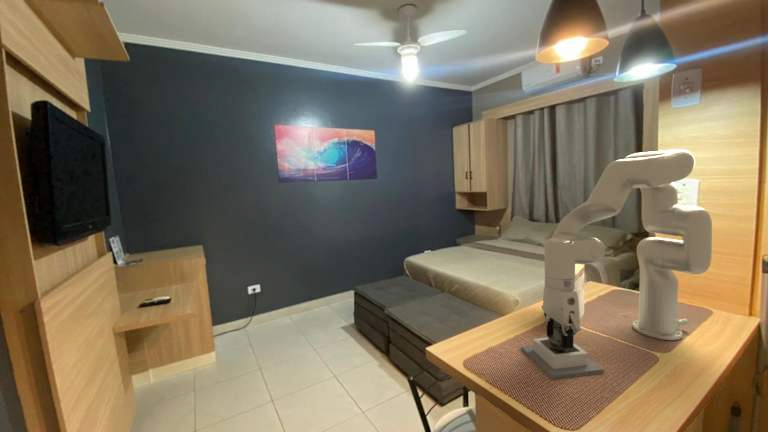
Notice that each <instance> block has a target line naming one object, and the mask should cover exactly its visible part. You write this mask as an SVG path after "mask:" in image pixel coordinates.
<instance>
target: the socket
mask: <svg viewBox="0 0 768 432" xmlns="http://www.w3.org/2000/svg"><path fill="white" fill-rule="evenodd" d="M550 347H552V346H551V344H550V342H549V340H548V336H546V337H542V338H541V337H540V338H539V337H538V338H533V339H532V345H525V346H524V345H523V346H520V350H521V351H522V352H523V354H525V355H526V356H527V357H528V358H529V360H531V361H532V362H533V364H535V365H536V366H537V367H538V368H539V369H540V371H542V372H543V373H544V374H545V375H546V376H547V377H548V378H549V379H550V380H557V379H563V378H571V377H572V378H573V377H581V376H589V375H595V374H603V373H604V368H602V366H601V367H600V366H599V365H598V364H597V363H595V362H594V361H592V360H591V359H590V358H589V353H588V352H587V351H586V350H584V349H583V348H582V347H581V346H579V345H577V344H575V343H574V342H573V348H568V350H569V352H570V353H562V354H554V353H553V352H552V351H551V350H549V348H550Z"/></svg>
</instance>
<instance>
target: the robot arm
mask: <svg viewBox="0 0 768 432" xmlns="http://www.w3.org/2000/svg"><path fill="white" fill-rule="evenodd" d="M695 165H696V159H695V156H694V155H693V154H692V153H691V151H689V150H687V149H682V148H681V149H679V148H677V149H668V150H667V149H666V150H665V149H664V150H657V151H646V152H645V151H643V152H635V153H632V154H629V155H627V156H625V157H624V158H623V159H617V160H613V161H612V162H610V163H609V164H608V165H607V166H606V167H605V168H604V170H603V172H602V174H601V176H600V177H599V179H598V181H597V182H596V185H595V186H594V188H593V190H592V192H591V194H590V196H589V198H588V199H587V200H586V201H585V202H583V203H581V204H580V205H578V206H577V207H576V208H574V209H573V210H571V211H570V212H569V213H567V214H566V215H564V217H562V219H561V220H560V221H559V223H558V225H556V228H555V230H554V232H553V233H552V234H551V235H552V236H551V238H548V239H546V240H545V242H544V246H543V247H544V287H543V296H542V297H543V298H542V305H541V309H542V312H543V316H544V317H545V320H544V321H545V323H546V337H549V336H550V335H553V327H552V326H553V325H554V320H555V321H557V322H558V323H560V324H561V326H562V331H563V334H562V336H561V346H562V348H563V349H567V348H573V343H574V341H575V340H574V336H576V334H577V333H578V332H580V331H581V330H582V328H581V326H580V322H581V321H580V320H581V319H580V312H579V301H578V295H577V291H576V290H575V264H594V263H597V262H599V261H600V260H602V259H603V257H604V256H605V254H606V246H605V244H604V243H603V242H602V241H601V240H600V239H598V238H596V237H592V236H589V235H584V234H583V235H582V234H578V232H579V231H580V230H581V229H583V228H584V227H585V226H587V225H590V224H591V223H594V222H598V221H603V220H605V219H609V218H611V217H614V216H616V215H618V214H619V213H620V212H621V210H622V208H623V206H624V205H625V202H626V201H627V199H628V197H629V195H630V194H631V193H632V190H633V189H640V192H641V212H642V213H641V217H642V218H641V221H642V227H643V229H644V230H645V231H646V232H647V233H650V234H655V235H662V236H663V235H664V236H670V237H677V238H678V237H679V238H681V239H682V240H680V239H674V238H673V239H672V238H667V237H666V238H665V237H658V236H656V237H655V236H653V237H652V236H651V237H650V236H649V237H645V238H643V239H642V240H640V241H639V243H638V244H637V246H636V256H637V257H636V258H637V261H638V267H639V295H638V296H639V297H638V319H636V320H634V321H633V322H632V325H631V326H632V329H634V330H635V331H636V332H637V333H639V334H641V335H644V336H647V337H649V338H653V339H658V340H664V341H677V340H681V339H682V338H683V333H684V332H683V331H682V330H681V329H679V328H680V327H681V326H688V325H689V324H690V322H689V320H688V319H687V318H680V319H678V302H679V301H678V297H679V281H678V277H677V275H676V274H675V272H679V273H684V274H685V273H686V274H689V275H701V274H703V273H705V272H707V271H708V270H709V268H710V266H711V263H712V262H711V261H712V251H713V250H712V246H713V245H712V244H713V243H712V241H713V226H712V225H713V223H712V217H711V215H710V213H709V212H708V211H707V210H706V209H705V208H703V207H700V206H697V205H696V206H695V205H680V203H679V200H678V199H679V198H678V188H677V185H676V183H675V182H679V181H681V180H684V179H685V178H687V177H689V176H690V174H691V173H692V172H693V170H694V168H695ZM674 271H675V272H674ZM567 322H569V323H567ZM567 327H569V328H567ZM566 328H567V329H566Z"/></svg>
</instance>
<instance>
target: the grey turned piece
mask: <svg viewBox="0 0 768 432" xmlns="http://www.w3.org/2000/svg"><path fill="white" fill-rule="evenodd" d="M552 327H553V335H550V336H549V337H548V336H547V337H548V340H549V342H550V344H551V346H552V347H550V348H549V350H551V351H552V352H553V353H554V354H562V353H570V352H569V350H568V348H567V349H563V348H562V346H561V336H562V334H563V331H562V326H561V324H560V323H558V322H557V321H555V320H554V325H553V326H552ZM566 329H567V330H568V328H567V327H566Z"/></svg>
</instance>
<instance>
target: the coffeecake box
mask: <svg viewBox="0 0 768 432" xmlns="http://www.w3.org/2000/svg"><path fill="white" fill-rule="evenodd" d="M585 265H586V264H584V263H576V264H575V290H576V291H577V295H578V301H579V312H580V320H581V319H582V318H583V316H584V315H585ZM567 323H569V322H567Z"/></svg>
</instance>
